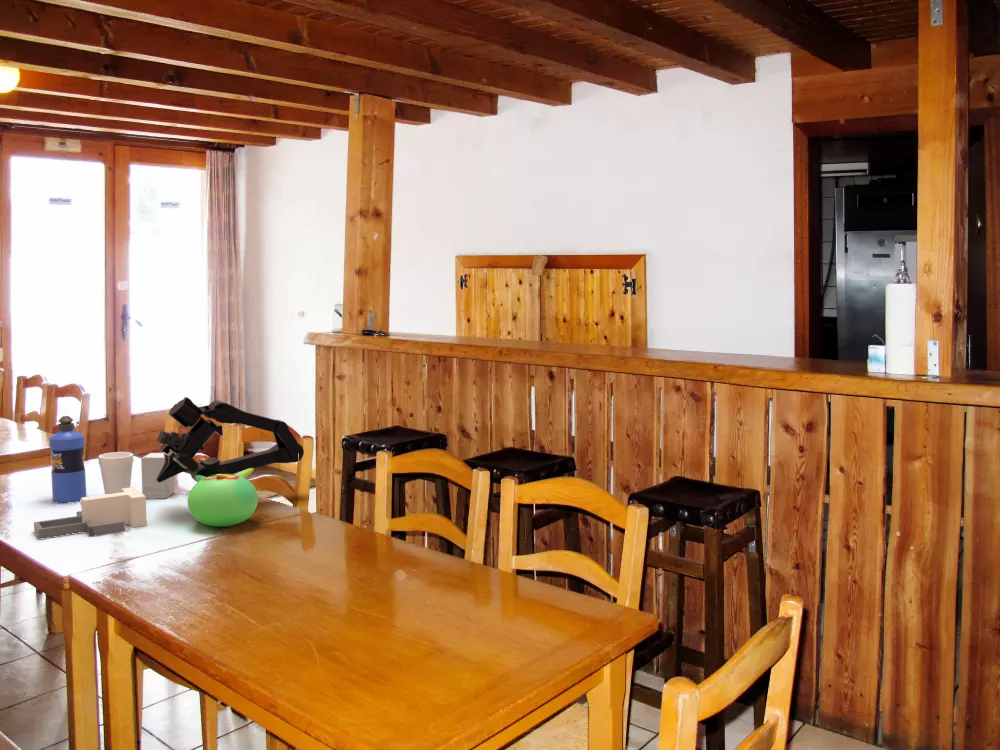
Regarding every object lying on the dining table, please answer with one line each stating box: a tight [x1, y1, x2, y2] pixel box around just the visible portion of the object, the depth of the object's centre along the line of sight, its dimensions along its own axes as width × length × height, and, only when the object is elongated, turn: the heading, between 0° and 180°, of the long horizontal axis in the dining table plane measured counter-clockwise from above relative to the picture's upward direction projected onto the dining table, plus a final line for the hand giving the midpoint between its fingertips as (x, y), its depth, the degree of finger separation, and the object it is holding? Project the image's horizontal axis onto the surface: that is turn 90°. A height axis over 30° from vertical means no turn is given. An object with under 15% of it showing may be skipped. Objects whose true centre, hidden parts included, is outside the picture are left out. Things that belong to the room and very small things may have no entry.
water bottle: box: [48, 415, 87, 504], centre depth 259 cm, size 9×9×25 cm
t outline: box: [33, 510, 126, 540], centre depth 231 cm, size 20×17×2 cm
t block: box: [80, 486, 148, 528], centre depth 236 cm, size 14×12×8 cm
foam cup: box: [98, 451, 134, 495], centre depth 263 cm, size 10×9×13 cm
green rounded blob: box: [187, 468, 259, 528], centre depth 236 cm, size 18×17×15 cm
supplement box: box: [140, 452, 176, 499], centre depth 266 cm, size 7×7×13 cm
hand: (157, 481), depth 242 cm, fingers closed
